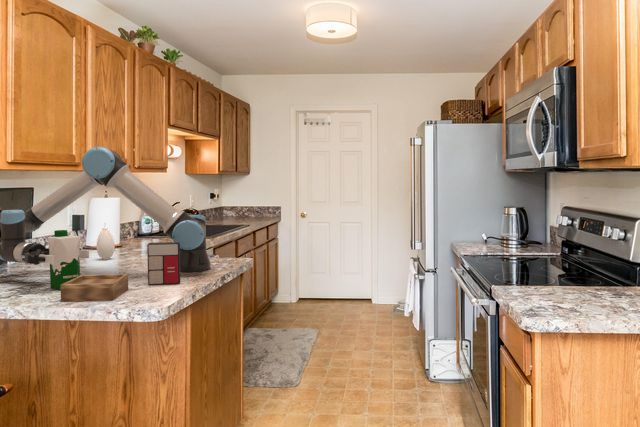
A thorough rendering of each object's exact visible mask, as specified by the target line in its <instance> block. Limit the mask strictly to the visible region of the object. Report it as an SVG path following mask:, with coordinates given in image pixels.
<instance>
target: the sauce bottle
mask: <svg viewBox="0 0 640 427" xmlns="http://www.w3.org/2000/svg"><path fill="white" fill-rule="evenodd" d="M106 225H107V224H106V223H104V227H102V228H101V231H100V233H99V234H98V236H97V239H96V240H97V241H96V252H97V254H98V256H99V258H101V259H102V260H105V261H107V260H109V259H111V258H112V257H113V255H114V252H115V250H116V249H115V248H116V246H115V239H114V237H113V235H112V233H111V231H110V230H109V228H108V227H106Z"/></svg>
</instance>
